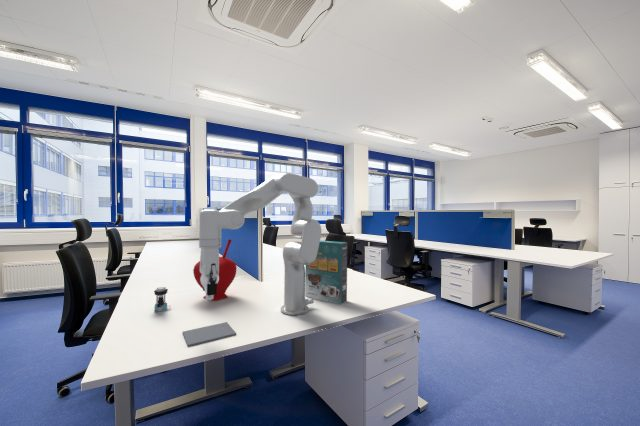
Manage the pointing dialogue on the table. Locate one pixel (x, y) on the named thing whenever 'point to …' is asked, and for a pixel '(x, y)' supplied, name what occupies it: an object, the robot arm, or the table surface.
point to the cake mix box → (328, 273)
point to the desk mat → (208, 333)
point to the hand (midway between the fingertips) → (209, 292)
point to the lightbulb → (204, 283)
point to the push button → (160, 299)
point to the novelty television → (220, 274)
